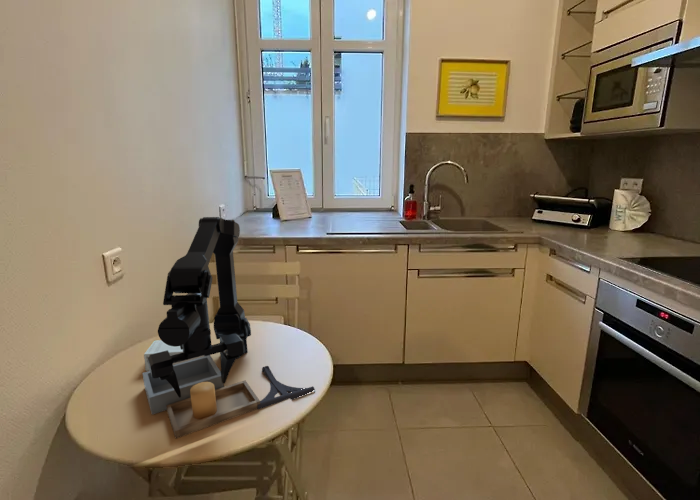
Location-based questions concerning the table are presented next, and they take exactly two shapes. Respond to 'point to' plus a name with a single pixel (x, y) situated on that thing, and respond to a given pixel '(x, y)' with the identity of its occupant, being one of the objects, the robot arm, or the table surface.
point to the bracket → (280, 390)
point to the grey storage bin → (181, 382)
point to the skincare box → (160, 350)
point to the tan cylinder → (203, 400)
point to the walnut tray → (228, 404)
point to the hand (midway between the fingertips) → (202, 389)
